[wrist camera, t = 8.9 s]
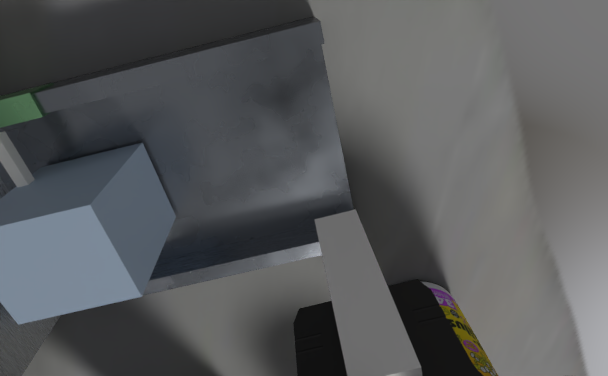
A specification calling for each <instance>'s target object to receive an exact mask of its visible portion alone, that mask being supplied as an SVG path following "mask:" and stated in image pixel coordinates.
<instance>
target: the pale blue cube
mask: <svg viewBox="0 0 608 376" xmlns="http://www.w3.org/2000/svg"><path fill="white" fill-rule="evenodd" d="M0 162H1V163H2V165H3V166H4V168H5V169H6V171H7V172H8V174H9V176H10V177H11V179H12V180H13V182H14V183H15V185H16V187H15V188H14V189H12V190H11V191H10V192H8V193H7V194H6V195H5V196H3V197H2V198H1V199H0V302H1V304H2V305H3V306H4V307H5V309H6V310H7V311H8V312H9V314H10V315H11V316H12V317H13V319H14V320H15V321H16V322H17V324H18V325H19V324H23V323H28V322H32V321H37V320H41V319H45V318H50V317H54V316H59V315H63V314H68V313H72V312H76V311H81V310H85V309H90V308H94V307H99V306H103V305H107V304H112V303H116V302H121V301H125V300H129V299H134V298H138V297H142V295H143V293H144V290H145V288H146V286H147V283H148V281H149V279H150V276H151V274H152V272H153V269H154V267H155V265H156V262H157V260H158V258H159V255H160V253H161V251H162V248H163V246H164V244H165V241H166V239H167V237H168V234H169V232H170V230H171V227H172V225H173V223H174V220H175V218H176V216H175V213H174V211H173V209H172V207H171V204H170V202H169V200H168V198H167V196H166V193H165V191H164V189H163V187H162V185H161V182H160V180H159V178H158V176H157V173H156V171H155V169H154V167H153V165H152V162H151V160H150V158H149V156H148V154H147V151H146V149H145V147H144V145H143V142H142V143H138V144H134V145H130V146H126V147H122V148H118V149H114V150H110V151H106V152H102V153H97V154H93V155H89V156H85V157H81V158H77V159H73V160H69V161H65V162H61V163H57V164H52V165H48V166H44V167H41V168H39V169H38V170H37V171H35V172H34V173H33V174H31V172H30V171H29V169H28V168H27V166H26V164H25V163H24V161H23V159H22V158H21V156H20V155H19V153H18V151H17V150H16V148H15V147H14V145H13V143H12V142H11V140H10V138H9V137H8V135H7V134H6V132H5V131H4V132H0Z"/></svg>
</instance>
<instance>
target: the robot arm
mask: <svg viewBox="0 0 608 376" xmlns="http://www.w3.org/2000/svg"><path fill="white" fill-rule="evenodd" d="M314 220H315V225H316V229H317V234H318V239H319V244H320V248H321V253H322V258H323V263H324V267H325V272H326V277H327V282H328V286H329V291H330V296H331V300H332V301H329V302H325V303H321V304H317V305H312V306H308V307H304V308H300V309H299V311H298V313H297V316H296V319H295V321H294V336H295V348H296V360H297V373H298V376H484V375H483V374H481V373H480V372H479V371H478V370H477V369H476V367H475V366H474V364H473V363H472V362H471V360H470V358H469V356H468V354H467V353H466V351H465V349H464V347H463V345H462V344H461V342H460V340H459V338H458V337H457V335H456V333H455V331H454V329H453V328H452V326H451V324H450V322H449V320H448V319H447V318H446V315H445V313H444V312H443V310H442V308H441V306H440V305H439V303H438V301H437V299H436V297H435V295H434V294H433V292H432V290H431V289H430V288H428V287H427V286H426V285H424V284H423V283H422V282H420V281H419V280H418V279H416V280H412V281H408V282H404V283H400V284H396V285H391V286H387V284H386V281H385V279H384V276H383V274H382V272H381V269H380V267H379V264H378V262H377V260H376V257H375V255H374V252H373V250H372V248H371V245H370V243H369V240H368V238H367V235H366V233H365V231H364V228H363V226H362V223H361V221H360V219H359V216H358V214H357V211H356V209H355V210H351V211H347V212H343V213H339V214H335V215H331V216H327V217H323V218H318V219H314Z"/></svg>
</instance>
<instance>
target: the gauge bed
mask: <svg viewBox="0 0 608 376" xmlns="http://www.w3.org/2000/svg"><path fill="white" fill-rule="evenodd" d="M321 44H324V38H323V33H322V28H321V23H320V21H319V20H318V19H317V18H315V17H311V18H307V19H303V20H299V21H295V22H291V23H287V24H283V25H279V26H275V27H271V28H268V29H264V30H260V31H256V32H252V33H248V34H244V35H240V36H236V37H232V38H228V39H224V40H220V41H216V42H212V43H208V44H205V45H201V46H197V47H193V48H189V49H185V50H181V51H177V52H173V53H169V54H165V55H161V56H157V57H153V58H149V59H146V60H142V61H138V62H134V63H130V64H126V65H122V66H118V67H114V68H110V69H106V70H102V71H98V72H94V73H90V74H86V75H83V76H79V77H75V78H71V79H67V80H63V81H59V82H55V83H50V84H46V85H42V86H38V87H34V88H30V89H26V90H22V91H18V92H14V93H10V94H6V95H2V96H0V132H4V131H5V132H6V134H7V135H8V137H9V138H10V140H11V142H12V143H13V145H14V147H15V148H16V150H17V151H18V153H19V155H20V156H21V158H22V159H23V161H24V163H25V164H26V166H27V168H28V169H29V171H30V172H31V174H33V173H34V172H35V171H37V170H38V169H39V168H41V167H44V166H48V165H52V164H57V163H61V162H65V161H69V160H73V159H77V158H81V157H85V156H89V155H93V154H97V153H102V152H106V151H110V150H114V149H118V148H122V147H126V146H130V145H134V144H138V143H142V142H143V145H144V147H145V149H146V151H147V154H148V156H149V158H150V160H151V162H152V165H153V167H154V169H155V171H156V173H157V176H158V178H159V180H160V182H161V185H162V187H163V189H164V191H165V193H166V196H167V198H168V200H169V202H170V204H171V207H172V209H173V211H174V213H175V216H176V218H175V220H174V223H173V225H172V227H171V230H170V232H169V234H168V237H167V239H166V241H165V244H164V246H163V248H162V251H161V253H160V255H159V258H158V260H157V262H156V265H155V267H154V269H153V272H152V274H151V276H150V279H149V281H148V283H147V286H146V288H145V290H144V293H143V295H147V294H151V293H156V292H160V291H165V290H169V289H173V288H178V287H182V286H187V285H191V284H196V283H200V282H204V281H209V280H213V279H218V278H222V277H226V276H231V275H235V274H240V273H244V272H249V271H253V270H257V269H262V268H266V267H271V266H275V265H280V264H284V263H288V262H293V261H297V260H302V259H306V258H310V257H315V256H319V255H322V253H321V248H320V244H319V239H318V234H317V229H316V225H315V220H314V219H318V218H323V217H327V216H331V215H335V214H339V213H343V212H347V211H351V210H354V208H353V203H352V198H351V193H350V188H349V183H348V178H347V173H346V168H345V163H344V158H343V152H342V147H341V142H340V137H339V132H338V127H337V122H336V117H335V112H334V107H333V102H332V97H331V91H330V86H329V81H328V76H327V71H326V66H325V61H324V56H323V51H322V46H321ZM15 187H16V185H15V183H14V182H13V180H12V179H11V177H10V176H9V174H8V172H7V171H6V169H5V168H4V166H3V165H2V163H1V162H0V199H1V198H2V197H3V196H5V195H6V194H7V193H8V192H10V191H11V190H12V189H14V188H15ZM143 295H142V296H143ZM60 316H61V315H59V316H54V317H50V318H45V319H41V320H37V321H32V322H28V323H23V324H19V325H18V324H17V322H16V321H15V320H14V319H13V317H12V316H11V315H10V314H9V312H8V311H7V310H6V309H5V307H4V306H3V305H2V304H1V302H0V376H22V375H23V373H24V372H25V370H26V368H27V367H28V365H29V364H30V362H31V361H32V359H33V358H34V356H35V355H36V353H37V351H38V350H39V348H40V347H41V345H42V344H43V342H44V341H45V339H46V338H47V336H48V335H49V333H50V331H51V330H52V328H53V327H54V325H55V324H56V322H57V321H58V319H59V318H60Z"/></svg>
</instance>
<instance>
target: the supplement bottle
mask: <svg viewBox="0 0 608 376" xmlns="http://www.w3.org/2000/svg"><path fill="white" fill-rule="evenodd" d="M422 283H423V284H424V285H426V286H427V287H428V288H430V289H431V290H432V292H433V294H434V295H435V297H436V299H437V301H438V303H439V305H440V306H441V308H442V310H443V312H444V313H445V315H446V318H447V319H448V320H449V322H450V324H451V326H452V328H453V329H454V331H455V333H456V335H457V337H458V338H459V340H460V342H461V344H462V345H463V347H464V349H465V351H466V353H467V354H468V356H469V358H470V360H471V362H472V363H473V364H474V366H475V367H476V369H477V370H478V371H479V372H480V373H481V374H483V375H484V376H498V375H497V373H496V371H495V369H494V368H493V366H492V364H491V362H490V360H489V359H488V357H487V355H486V353H485V352H484V350H483V348H482V347H481V345H480V343H479V341H478V340H477V338H476V336H475V334H474V333H473V331H472V329H471V327H470V326H469V324H468V322H467V320H466V319H465V317H464V315H463V313H462V312H461V310H460V308H459V307H458V305H457V303H456V302H455V300H454V298H453V297H452V295H451V294H450V293H449V292H448V291H447V290H445V289H444V288H442V287H441V286H439V285H436V284H433V283H429V282H422Z"/></svg>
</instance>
